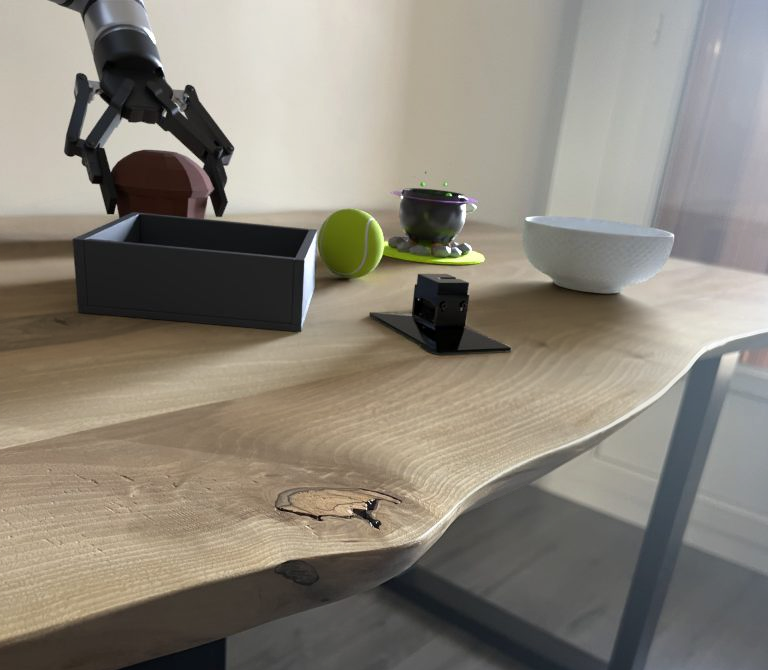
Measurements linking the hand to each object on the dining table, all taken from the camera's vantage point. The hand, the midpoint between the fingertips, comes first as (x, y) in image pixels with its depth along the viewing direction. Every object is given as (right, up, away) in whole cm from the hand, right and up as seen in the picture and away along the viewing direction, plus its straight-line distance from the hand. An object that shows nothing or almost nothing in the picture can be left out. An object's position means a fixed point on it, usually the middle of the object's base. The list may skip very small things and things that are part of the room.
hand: (169, 208), depth 91 cm
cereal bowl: (+48, -8, +5) cm, 49 cm away
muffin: (-2, -3, +4) cm, 5 cm away
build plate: (+29, -19, -22) cm, 41 cm away
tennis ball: (+20, -9, -4) cm, 23 cm away
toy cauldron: (+30, 0, +16) cm, 34 cm away
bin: (+9, -15, -19) cm, 26 cm away
